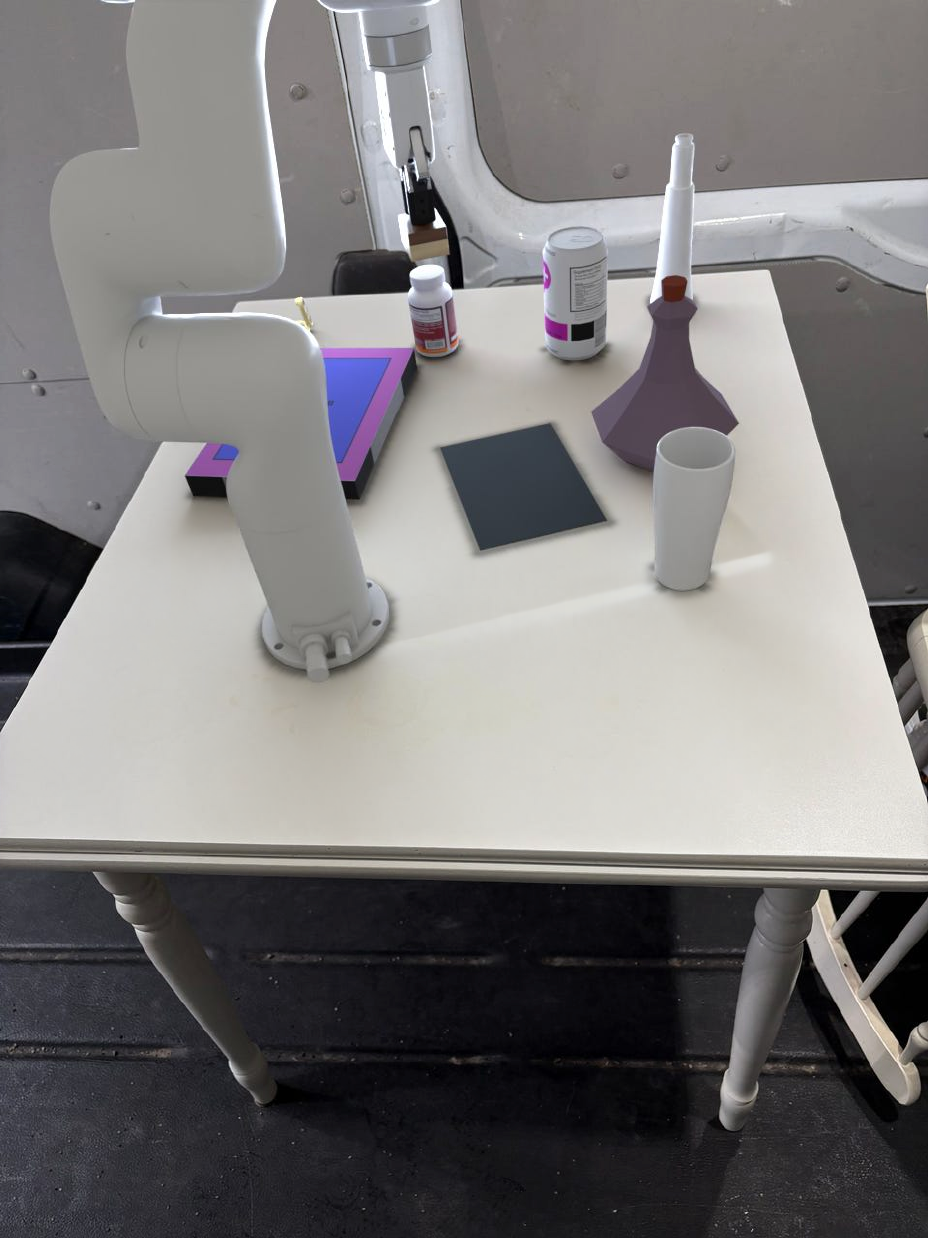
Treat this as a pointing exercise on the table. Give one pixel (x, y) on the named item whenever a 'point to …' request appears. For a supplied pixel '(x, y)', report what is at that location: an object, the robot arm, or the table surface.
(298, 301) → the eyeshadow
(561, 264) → the supplement can
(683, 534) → the drinking glass
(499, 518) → the mat
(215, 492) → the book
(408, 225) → the brush
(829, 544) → the table surface
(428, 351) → the pill bottle
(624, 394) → the flask
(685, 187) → the cosmetic bottle
